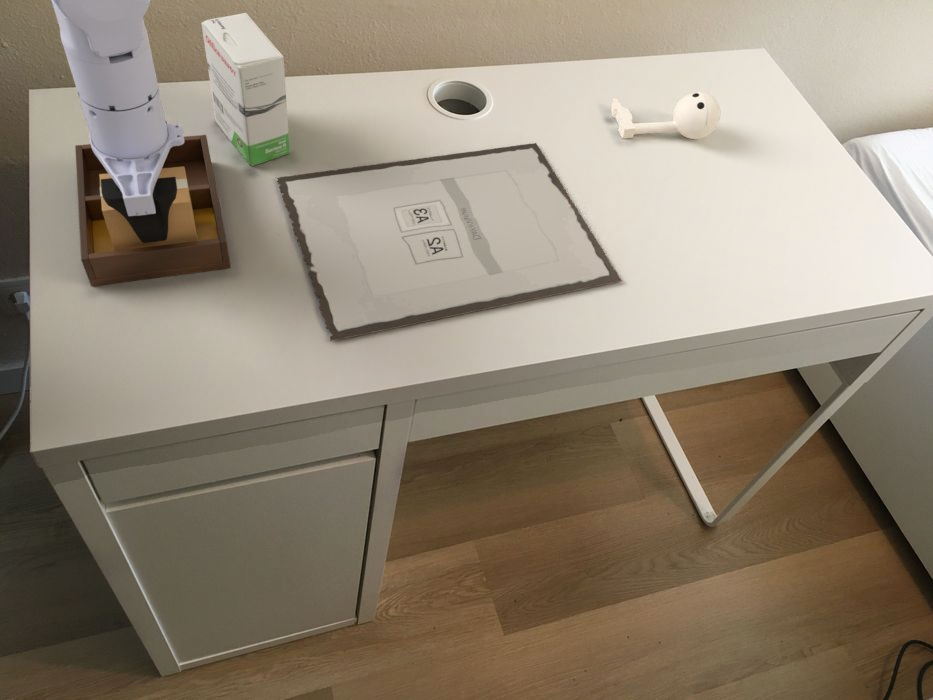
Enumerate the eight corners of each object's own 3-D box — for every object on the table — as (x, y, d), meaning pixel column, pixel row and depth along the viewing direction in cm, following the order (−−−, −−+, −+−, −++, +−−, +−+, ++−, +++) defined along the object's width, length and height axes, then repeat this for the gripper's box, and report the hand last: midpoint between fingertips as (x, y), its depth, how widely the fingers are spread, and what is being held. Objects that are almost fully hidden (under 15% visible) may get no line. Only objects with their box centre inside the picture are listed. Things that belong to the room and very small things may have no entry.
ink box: (292, 154, 81) (287, 55, 72) (249, 168, 79) (238, 68, 70) (255, 108, 85) (246, 8, 76) (213, 120, 83) (198, 19, 73)
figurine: (734, 108, 88) (638, 115, 86) (718, 146, 93) (626, 154, 91) (708, 67, 93) (615, 73, 91) (694, 105, 97) (605, 111, 95)
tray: (91, 286, 68) (80, 259, 65) (84, 173, 75) (74, 145, 73) (230, 268, 71) (226, 241, 68) (210, 162, 79) (206, 134, 76)
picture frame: (330, 342, 67) (621, 281, 77) (330, 340, 67) (622, 279, 77) (275, 178, 79) (535, 143, 88) (275, 176, 78) (536, 141, 88)
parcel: (115, 252, 67) (101, 210, 63) (112, 216, 70) (98, 173, 66) (198, 242, 69) (190, 201, 65) (192, 207, 72) (184, 165, 68)
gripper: (184, 145, 55) (208, 271, 66) (165, 30, 63) (189, 160, 73) (77, 154, 53) (120, 283, 64) (71, 34, 61) (110, 167, 71)
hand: (151, 218), depth 68 cm, fingers closed on parcel, 5 cm apart
